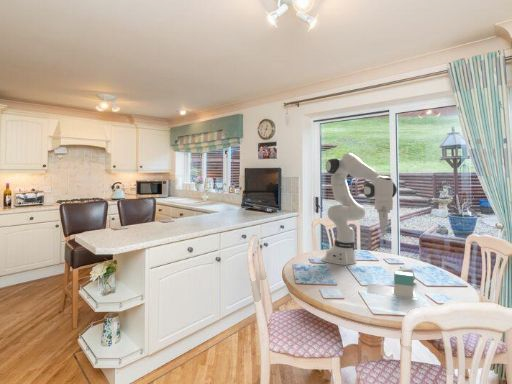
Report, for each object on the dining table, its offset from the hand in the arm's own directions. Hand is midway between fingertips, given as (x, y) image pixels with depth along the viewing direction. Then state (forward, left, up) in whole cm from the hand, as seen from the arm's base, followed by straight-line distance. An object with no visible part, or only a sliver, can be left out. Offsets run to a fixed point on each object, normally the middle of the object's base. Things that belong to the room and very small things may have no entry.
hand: (382, 231), depth 149 cm
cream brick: (+10, -13, -28) cm, 32 cm away
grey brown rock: (+12, +4, -29) cm, 32 cm away
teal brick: (+10, -13, -23) cm, 28 cm away
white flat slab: (+4, -13, -29) cm, 32 cm away
